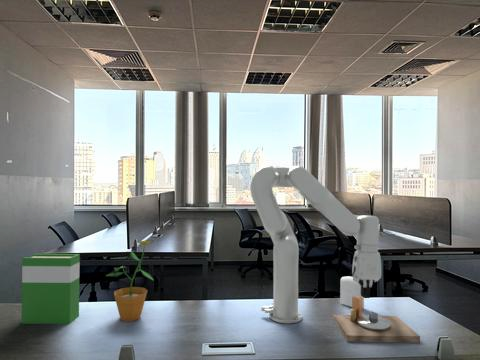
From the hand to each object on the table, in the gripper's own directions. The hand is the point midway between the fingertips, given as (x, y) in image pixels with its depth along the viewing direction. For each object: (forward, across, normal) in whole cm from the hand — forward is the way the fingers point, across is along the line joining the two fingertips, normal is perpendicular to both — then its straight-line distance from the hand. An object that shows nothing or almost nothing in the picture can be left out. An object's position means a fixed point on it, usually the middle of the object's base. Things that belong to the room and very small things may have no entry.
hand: (365, 296), depth 132 cm
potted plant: (+13, -85, +28) cm, 90 cm away
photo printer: (+10, +6, +17) cm, 20 cm away
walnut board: (+10, -1, -7) cm, 12 cm away
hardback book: (+14, -113, +33) cm, 119 cm away
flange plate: (+7, -2, -6) cm, 10 cm away
